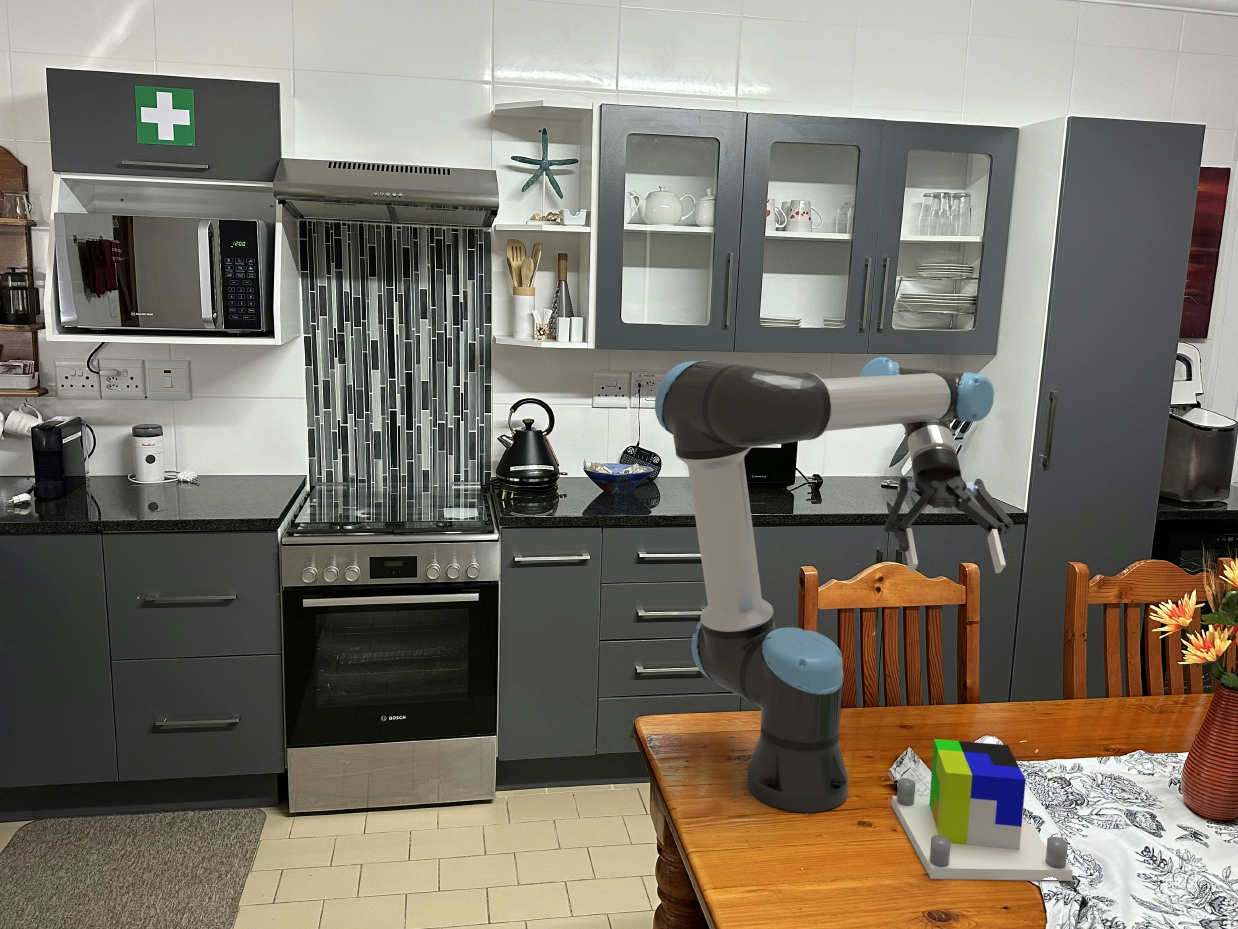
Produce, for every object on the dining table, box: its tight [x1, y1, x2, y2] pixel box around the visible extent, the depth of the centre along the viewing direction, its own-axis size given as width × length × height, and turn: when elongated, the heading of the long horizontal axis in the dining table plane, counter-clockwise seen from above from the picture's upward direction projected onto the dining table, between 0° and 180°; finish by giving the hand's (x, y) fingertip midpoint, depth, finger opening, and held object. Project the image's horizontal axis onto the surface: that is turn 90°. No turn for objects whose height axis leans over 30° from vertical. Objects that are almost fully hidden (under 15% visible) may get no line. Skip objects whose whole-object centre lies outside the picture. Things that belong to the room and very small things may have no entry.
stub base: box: [891, 777, 1073, 882], centre depth 130 cm, size 18×18×4 cm
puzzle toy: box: [929, 738, 1026, 850], centre depth 130 cm, size 10×10×10 cm
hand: (957, 568), depth 149 cm, fingers open, 13 cm apart
